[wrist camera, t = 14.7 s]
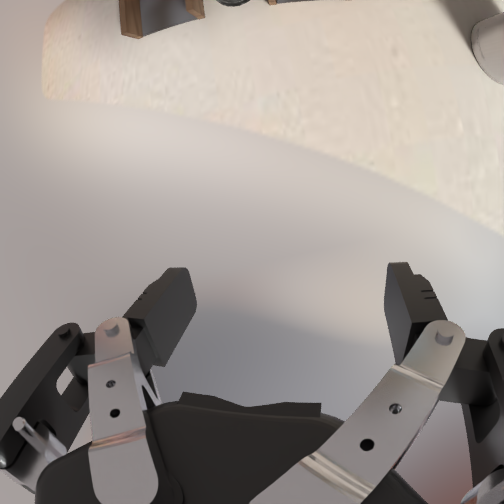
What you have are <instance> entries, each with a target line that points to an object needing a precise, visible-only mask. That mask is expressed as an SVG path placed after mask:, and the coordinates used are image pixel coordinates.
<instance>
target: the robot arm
mask: <svg viewBox="0 0 504 504" xmlns="http://www.w3.org/2000/svg"><path fill="white" fill-rule="evenodd" d="M471 44H472V48H473V52H474V55H475V57H476V59H477V61H478V63H479V65H480V66H481V68H482V69H483V70H484V72H485V73H486V74H487V75H488V76H489V77H490V78H492V79H493V80H494V81H496V82H498V83H500V84H503V85H504V12H503V13H500V14H497V15H495V16H492V17H490V18H487V19H485V20H482V21H480V22H478V23H477V24H476V25H475V26H474V27H473V30H472V33H471ZM196 307H197V301H196V297H195V293H194V289H193V285H192V282H191V278H190V274H189V271H188V269H186V268H168V269H167V270H166V271H165V272H164V274H163V275H162V276H161V277H160V278H159V279H158V280H156V281H155V282H153V283H152V284H150V285H149V286H148V287H147V288H146V289H145V290H144V292H143V294H141V295H140V296H139V298H138V300H136V301H135V302H134V304H133V305H132V306H131V307H130V308H129V310H128V311H127V312H126V313H125V314H124V316H123V317H115V318H111V319H108V320H106V321H104V322H103V323H101V324H100V325H99V326H98V327H97V329H96V331H95V332H92V333H84V334H83V333H82V331H81V329H80V327H79V325H78V324H76V323H67V324H65V325H62V326H61V327H59V328H58V329H56V330H55V331H54V332H53V334H52V335H51V336H50V337H49V338H48V339H47V340H46V342H45V343H44V344H43V345H42V346H41V348H40V349H39V350H38V351H37V353H36V354H35V355H34V356H33V357H32V358H31V360H30V361H29V362H28V363H27V365H26V366H25V367H24V368H23V370H22V371H21V372H20V373H19V375H18V376H17V377H16V379H15V380H14V381H13V383H12V384H11V385H10V386H9V388H8V389H7V390H6V392H5V393H4V394H3V396H2V397H1V398H0V471H1V472H3V473H4V474H5V475H7V476H8V477H9V478H10V479H12V480H13V481H14V482H16V483H18V484H20V485H22V486H23V487H24V488H25V489H27V490H28V491H30V492H31V493H33V494H35V504H428V503H427V502H426V501H424V499H423V498H422V497H421V496H420V495H419V494H418V493H417V492H416V491H415V490H414V489H413V488H412V487H411V486H410V485H409V484H408V483H407V482H406V481H405V480H404V479H403V478H402V477H401V476H400V475H399V474H398V473H397V472H396V471H395V469H396V468H397V466H398V465H399V463H400V462H401V461H402V459H403V458H404V456H405V455H406V454H407V452H408V450H409V449H410V447H411V446H412V444H413V443H414V441H415V440H416V438H417V437H418V435H419V433H420V432H421V430H422V429H423V427H424V426H425V424H426V422H427V421H428V419H429V417H430V416H431V414H432V412H433V410H434V409H435V407H436V405H437V403H438V402H439V400H440V401H447V402H454V403H461V405H462V409H463V415H464V420H465V426H466V432H467V438H468V444H469V452H470V460H471V470H472V481H473V489H471V490H470V491H469V492H468V493H467V494H466V495H465V496H464V498H463V499H462V501H461V504H504V329H496V330H494V331H493V332H492V333H491V334H490V335H489V338H488V340H487V341H485V340H477V339H471V338H467V337H465V333H464V331H463V330H462V328H461V327H459V326H458V325H457V324H455V323H453V322H451V321H448V319H447V317H446V315H445V313H444V311H443V309H442V307H441V305H440V302H439V300H438V299H437V296H436V294H435V292H433V288H432V286H431V284H430V282H429V281H428V280H426V279H425V278H424V277H423V276H422V275H420V274H418V275H414V274H413V272H412V270H411V268H410V266H409V264H408V263H407V262H398V263H389V264H388V267H387V277H386V287H385V296H384V311H385V316H386V320H387V324H388V329H389V333H390V338H391V343H392V347H393V351H394V357H395V362H396V364H394V365H393V366H392V367H391V368H390V369H389V371H388V372H387V373H386V374H385V376H384V377H383V378H382V380H381V381H380V382H379V383H378V385H377V386H376V387H375V388H374V389H373V391H372V392H371V393H370V394H369V395H368V397H367V398H366V399H365V400H364V402H363V403H362V404H361V405H360V406H359V407H358V408H357V409H356V410H355V412H354V413H353V414H352V415H351V416H350V417H349V418H348V419H347V420H346V421H343V420H340V419H338V418H336V417H333V416H330V415H327V414H323V413H321V403H295V402H283V403H276V404H269V405H262V406H254V407H244V406H240V405H237V404H234V403H232V402H229V401H226V400H223V399H220V398H218V397H215V396H209V395H202V394H195V393H188V392H183V393H182V395H181V397H180V399H179V401H175V402H168V403H164V404H162V403H161V399H160V396H159V393H158V390H157V386H156V383H155V379H154V376H153V373H152V371H151V367H152V365H156V366H162V367H165V365H166V364H167V362H168V360H169V358H170V356H171V355H172V352H173V351H174V349H175V347H176V345H177V344H178V342H179V340H180V339H181V337H182V335H183V333H184V331H185V330H186V328H187V326H188V324H189V323H190V321H191V319H192V317H193V316H194V314H195V312H196ZM66 367H68V369H69V370H70V372H71V373H72V375H73V376H74V378H73V379H72V381H71V382H70V384H69V385H68V387H67V388H66V390H65V391H64V392H63V394H62V395H60V394H59V392H58V391H57V388H56V382H57V379H58V378H59V376H60V375H61V374H62V372H63V371H64V369H65V368H66ZM89 413H90V421H91V431H92V441H91V442H89V443H87V444H85V445H83V446H81V447H79V448H78V449H76V450H74V451H72V452H70V453H68V454H67V452H68V450H69V449H70V447H71V445H72V443H73V441H74V439H75V438H76V436H77V434H78V432H79V430H80V428H81V427H82V425H83V423H84V421H85V420H86V418H87V416H88V414H89Z"/></svg>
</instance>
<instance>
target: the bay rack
mask: <svg viewBox="0 0 504 504" xmlns="http://www.w3.org/2000/svg"><path fill="white" fill-rule="evenodd" d="M298 1H313V0H277V2H276V0H268V2H269V4H270V5H276V4H277V3H287V2H298ZM119 8H120V23H121V35H125V36H128V37H132V38H136V39H140V38H142V37H143V36H146V35H149V34H151V33H154V32H157V31H160V30H163V29H166V28H169V27H172V26H175V25H178V24H182V23H185V22H189V21H192V20H196V19H202V18H205V13H204V6H203V0H119Z"/></svg>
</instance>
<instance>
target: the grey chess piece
mask: <svg viewBox="0 0 504 504" xmlns="http://www.w3.org/2000/svg"><path fill="white" fill-rule="evenodd" d="M217 1H218V2H219V3H221V4H223V5H225V6H240V5H242V4H245V3H246V2H248V1H249V0H217Z"/></svg>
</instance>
